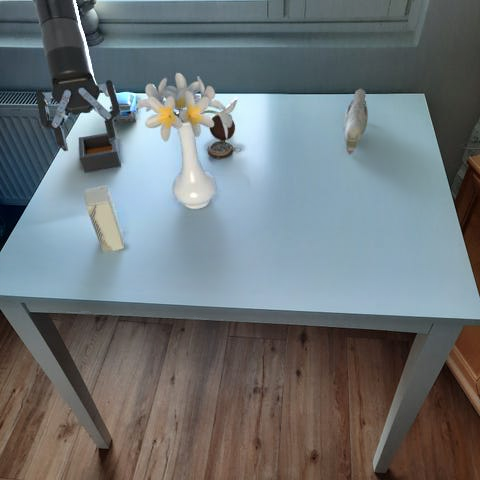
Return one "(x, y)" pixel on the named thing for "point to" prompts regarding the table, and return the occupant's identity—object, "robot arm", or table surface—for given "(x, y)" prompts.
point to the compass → (221, 140)
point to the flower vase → (187, 132)
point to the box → (104, 218)
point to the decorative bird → (355, 120)
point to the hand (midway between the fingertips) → (88, 146)
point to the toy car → (127, 106)
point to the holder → (98, 153)
